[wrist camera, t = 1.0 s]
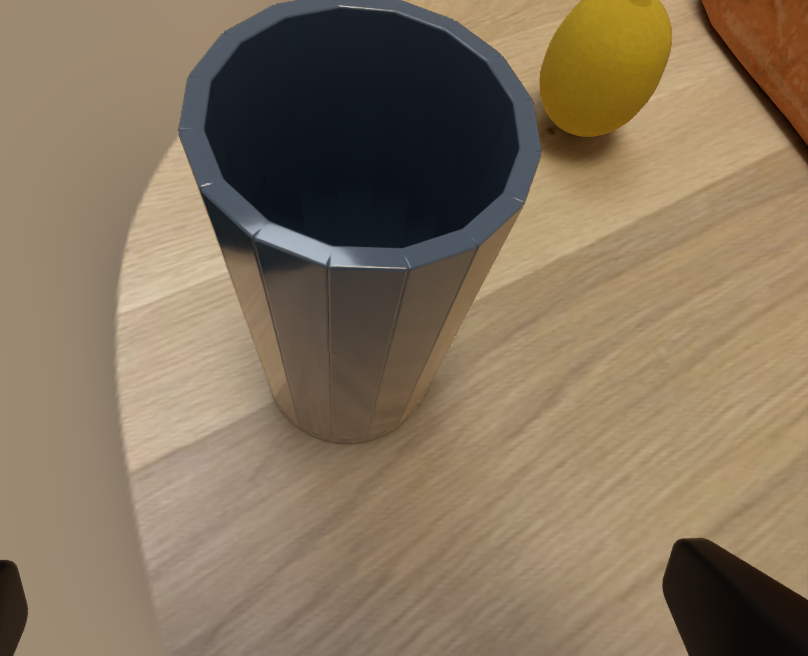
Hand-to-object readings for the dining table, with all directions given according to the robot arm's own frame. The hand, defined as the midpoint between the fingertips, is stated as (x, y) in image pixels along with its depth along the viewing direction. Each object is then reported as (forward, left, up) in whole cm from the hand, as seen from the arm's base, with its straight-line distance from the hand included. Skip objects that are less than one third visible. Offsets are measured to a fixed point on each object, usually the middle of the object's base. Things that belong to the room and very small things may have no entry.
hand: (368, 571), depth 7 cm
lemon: (+22, -12, -14) cm, 28 cm away
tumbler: (+8, 0, -13) cm, 16 cm away
